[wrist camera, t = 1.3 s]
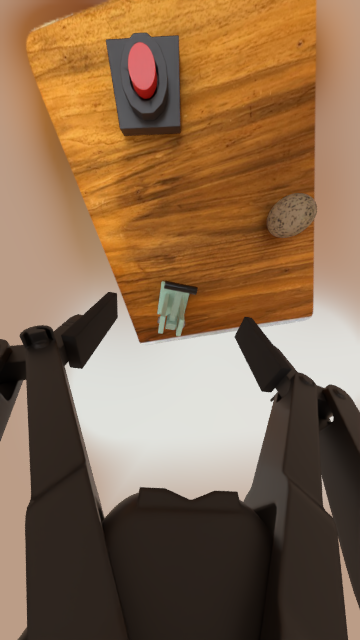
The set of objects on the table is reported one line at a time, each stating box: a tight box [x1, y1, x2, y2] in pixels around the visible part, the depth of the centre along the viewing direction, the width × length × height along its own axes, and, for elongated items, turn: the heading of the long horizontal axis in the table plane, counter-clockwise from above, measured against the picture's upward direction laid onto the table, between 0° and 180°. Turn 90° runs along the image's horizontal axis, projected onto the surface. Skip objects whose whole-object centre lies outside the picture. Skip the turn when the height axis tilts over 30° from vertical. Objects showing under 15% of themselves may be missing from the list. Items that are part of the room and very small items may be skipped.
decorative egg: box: [267, 193, 317, 238], centre depth 28 cm, size 7×7×10 cm
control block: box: [106, 33, 180, 136], centre depth 22 cm, size 10×8×4 cm
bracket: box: [157, 281, 189, 336], centre depth 37 cm, size 10×8×14 cm
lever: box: [164, 281, 198, 330], centre depth 28 cm, size 14×5×2 cm, turn 169°
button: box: [128, 42, 157, 99], centre depth 20 cm, size 4×4×2 cm
